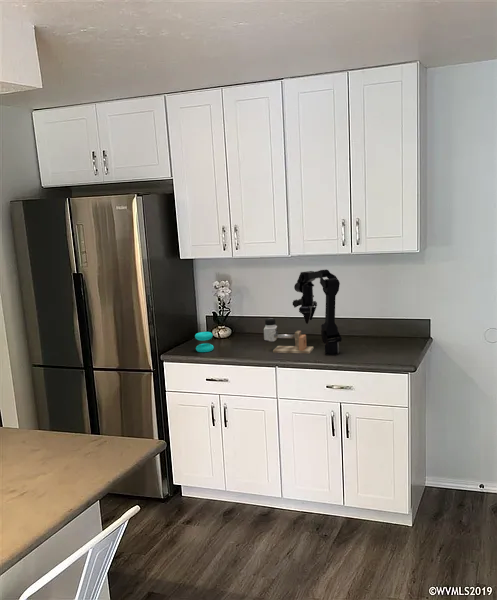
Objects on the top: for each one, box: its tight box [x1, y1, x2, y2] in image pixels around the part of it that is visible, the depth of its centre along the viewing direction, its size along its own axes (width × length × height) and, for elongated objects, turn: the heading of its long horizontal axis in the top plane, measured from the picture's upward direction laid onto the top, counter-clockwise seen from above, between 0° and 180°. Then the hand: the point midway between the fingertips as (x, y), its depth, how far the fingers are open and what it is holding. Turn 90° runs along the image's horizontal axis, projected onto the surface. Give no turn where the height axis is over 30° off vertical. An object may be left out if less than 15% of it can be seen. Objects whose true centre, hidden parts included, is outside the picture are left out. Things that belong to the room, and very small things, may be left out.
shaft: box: [268, 331, 295, 342], centre depth 327 cm, size 14×4×5 cm, turn 72°
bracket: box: [272, 330, 314, 355], centre depth 326 cm, size 20×10×10 cm, turn 72°
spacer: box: [299, 334, 308, 350], centre depth 324 cm, size 2×7×7 cm, turn 162°
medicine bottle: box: [263, 318, 279, 341], centre depth 356 cm, size 7×7×12 cm
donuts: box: [194, 331, 215, 353], centre depth 338 cm, size 10×10×10 cm
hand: (308, 321), depth 336 cm, fingers open, 9 cm apart
